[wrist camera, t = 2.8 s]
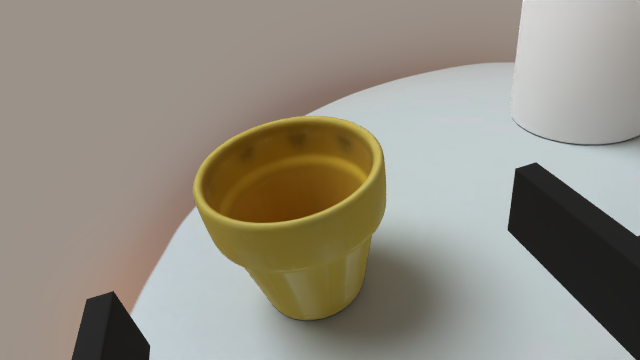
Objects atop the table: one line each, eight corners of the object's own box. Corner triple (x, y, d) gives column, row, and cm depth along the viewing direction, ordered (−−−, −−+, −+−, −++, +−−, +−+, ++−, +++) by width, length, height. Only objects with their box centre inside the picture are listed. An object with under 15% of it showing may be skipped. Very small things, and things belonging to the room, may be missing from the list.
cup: (577, 160, 34) (614, 7, 28) (484, 107, 44) (494, -17, 37) (685, 119, 37) (745, -32, 30) (575, 77, 46) (601, -45, 39)
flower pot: (320, 387, 22) (284, 259, 17) (208, 296, 29) (154, 181, 23) (423, 265, 28) (421, 138, 22) (311, 211, 34) (287, 101, 29)
